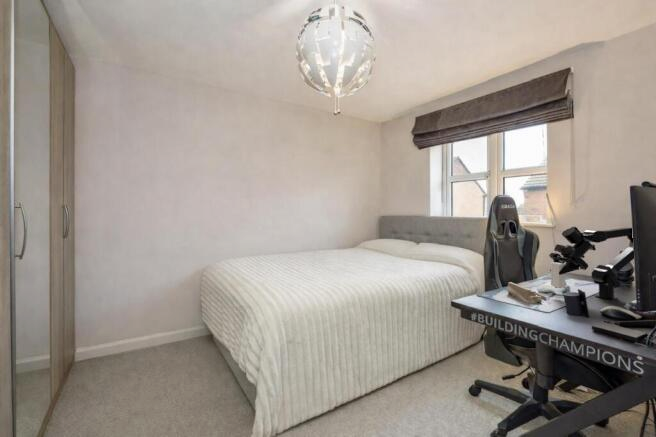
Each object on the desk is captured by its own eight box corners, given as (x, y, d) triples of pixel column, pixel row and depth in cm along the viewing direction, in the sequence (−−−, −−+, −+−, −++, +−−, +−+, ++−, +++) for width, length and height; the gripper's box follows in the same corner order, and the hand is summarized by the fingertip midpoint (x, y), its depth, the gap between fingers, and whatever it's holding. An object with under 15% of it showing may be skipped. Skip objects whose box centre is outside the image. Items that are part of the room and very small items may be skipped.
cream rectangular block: (557, 285, 150) (557, 262, 149) (565, 287, 144) (565, 264, 144) (550, 285, 150) (551, 262, 149) (558, 287, 144) (559, 264, 144)
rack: (531, 293, 155) (531, 282, 155) (552, 302, 139) (553, 290, 139) (508, 293, 156) (508, 282, 156) (527, 302, 140) (527, 290, 140)
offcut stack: (524, 295, 153) (525, 286, 153) (537, 301, 143) (537, 292, 143) (516, 295, 154) (517, 286, 153) (529, 301, 144) (529, 292, 143)
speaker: (588, 313, 124) (585, 288, 124) (589, 318, 120) (586, 292, 120) (565, 311, 129) (562, 287, 129) (565, 315, 125) (562, 291, 125)
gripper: (552, 237, 155) (531, 258, 156) (581, 240, 137) (557, 264, 137) (568, 252, 155) (546, 273, 156) (599, 257, 137) (574, 281, 137)
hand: (555, 272), depth 147 cm, fingers closed on cream rectangular block, 5 cm apart
